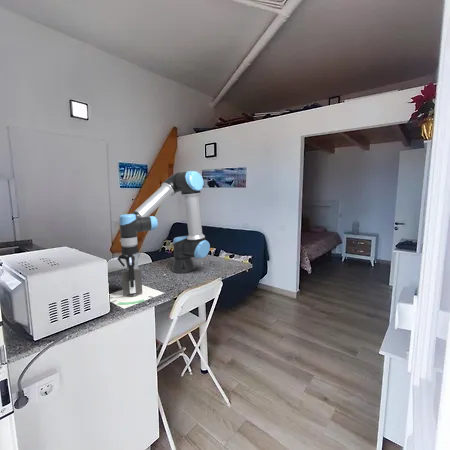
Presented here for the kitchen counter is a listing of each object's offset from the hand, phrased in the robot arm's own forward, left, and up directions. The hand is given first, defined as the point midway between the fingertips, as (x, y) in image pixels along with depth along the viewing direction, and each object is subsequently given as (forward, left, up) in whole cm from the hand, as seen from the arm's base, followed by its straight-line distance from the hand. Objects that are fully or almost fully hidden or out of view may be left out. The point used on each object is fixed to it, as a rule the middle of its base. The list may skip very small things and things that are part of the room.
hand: (132, 291), depth 127 cm
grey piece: (+2, -1, -2) cm, 3 cm away
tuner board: (0, 0, -3) cm, 3 cm away
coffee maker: (-18, -32, -3) cm, 37 cm away
